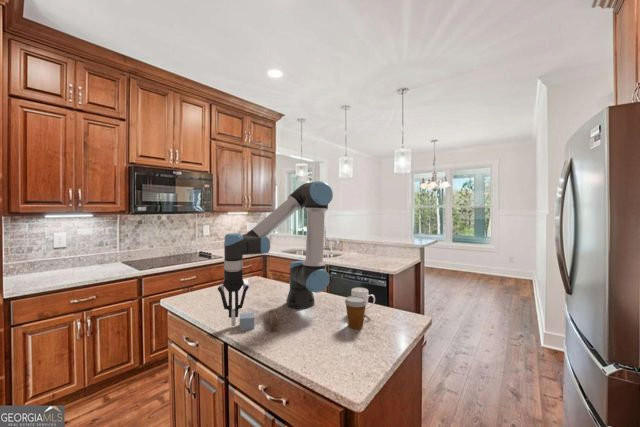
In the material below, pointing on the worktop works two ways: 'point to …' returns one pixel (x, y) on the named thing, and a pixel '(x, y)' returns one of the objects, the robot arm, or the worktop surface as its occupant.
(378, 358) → the worktop surface
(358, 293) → the mug
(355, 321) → the disposable coffee cup
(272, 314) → the narrow bar
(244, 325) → the block
